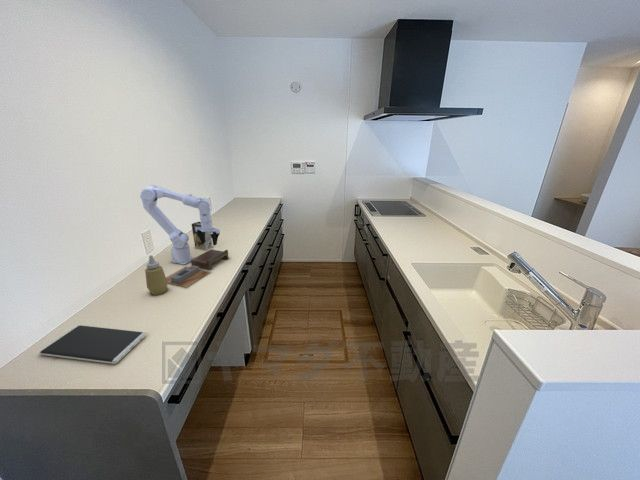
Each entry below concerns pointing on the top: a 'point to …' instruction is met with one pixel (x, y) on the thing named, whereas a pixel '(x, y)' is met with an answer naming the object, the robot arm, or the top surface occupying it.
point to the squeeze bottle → (155, 277)
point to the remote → (185, 274)
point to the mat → (189, 280)
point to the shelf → (209, 258)
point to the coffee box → (197, 240)
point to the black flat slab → (94, 344)
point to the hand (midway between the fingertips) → (209, 243)
